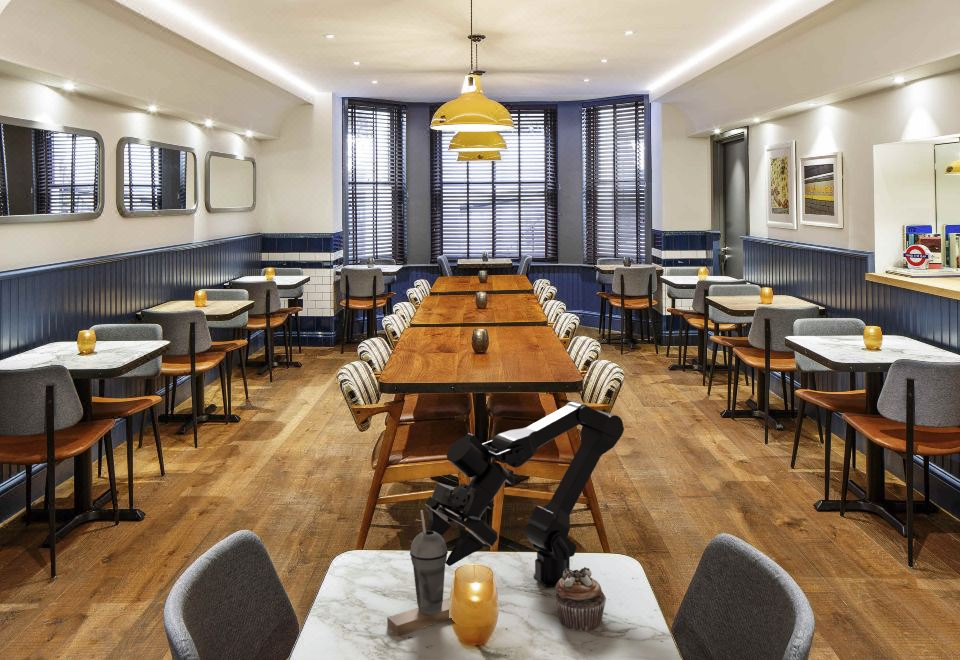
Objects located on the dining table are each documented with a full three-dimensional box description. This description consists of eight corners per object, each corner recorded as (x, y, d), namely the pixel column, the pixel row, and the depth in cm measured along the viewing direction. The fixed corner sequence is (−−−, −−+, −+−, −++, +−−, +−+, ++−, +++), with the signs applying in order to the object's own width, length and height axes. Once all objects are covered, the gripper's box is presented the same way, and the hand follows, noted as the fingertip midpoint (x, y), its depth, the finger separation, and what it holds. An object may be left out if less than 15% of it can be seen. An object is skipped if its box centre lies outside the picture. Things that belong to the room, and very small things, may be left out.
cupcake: (564, 636, 154) (563, 584, 153) (549, 611, 163) (549, 563, 162) (613, 630, 156) (613, 579, 154) (596, 606, 165) (596, 558, 164)
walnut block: (459, 604, 167) (458, 594, 167) (469, 612, 164) (469, 602, 163) (387, 627, 158) (387, 617, 158) (397, 635, 155) (397, 625, 155)
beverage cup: (452, 615, 158) (450, 514, 156) (414, 620, 156) (412, 518, 154) (444, 598, 165) (442, 501, 163) (408, 603, 163) (405, 505, 161)
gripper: (431, 456, 168) (385, 520, 164) (483, 479, 153) (432, 551, 149) (465, 485, 174) (421, 548, 169) (518, 511, 158) (471, 581, 154)
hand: (435, 556), depth 160 cm, fingers open, 9 cm apart
